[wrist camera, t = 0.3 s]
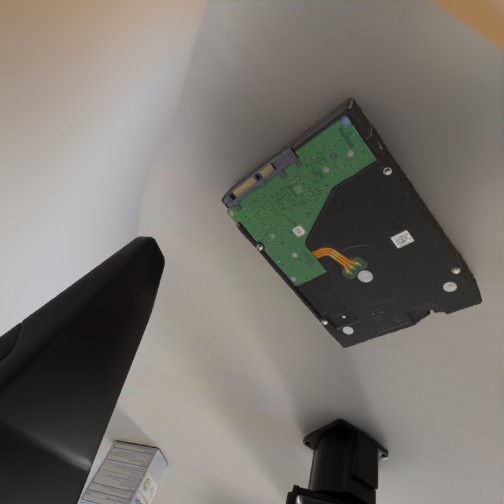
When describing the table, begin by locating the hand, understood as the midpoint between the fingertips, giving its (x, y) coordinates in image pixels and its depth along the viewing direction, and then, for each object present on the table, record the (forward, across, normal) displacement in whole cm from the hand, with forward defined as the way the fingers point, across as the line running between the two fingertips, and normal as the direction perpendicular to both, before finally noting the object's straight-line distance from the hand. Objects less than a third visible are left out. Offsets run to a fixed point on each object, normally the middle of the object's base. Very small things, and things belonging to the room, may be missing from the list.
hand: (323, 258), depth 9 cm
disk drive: (+13, 0, +12) cm, 18 cm away
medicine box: (+3, +29, +50) cm, 58 cm away
